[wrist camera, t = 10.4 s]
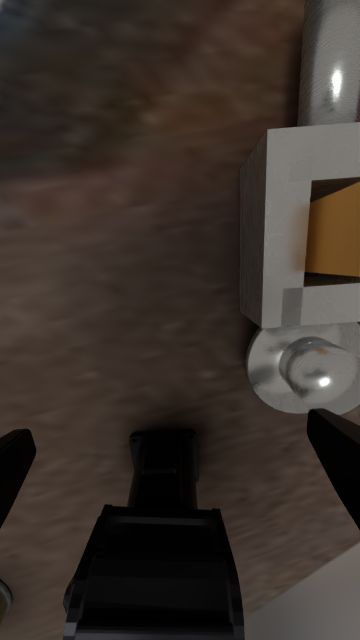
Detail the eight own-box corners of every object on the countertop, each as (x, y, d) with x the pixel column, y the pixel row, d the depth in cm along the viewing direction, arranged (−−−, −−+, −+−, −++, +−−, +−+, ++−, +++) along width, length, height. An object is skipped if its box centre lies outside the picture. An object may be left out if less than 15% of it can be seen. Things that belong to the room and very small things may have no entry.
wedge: (308, 267, 17) (411, 272, 10) (278, 269, 17) (358, 276, 10) (312, 213, 16) (433, 171, 9) (281, 215, 16) (373, 175, 9)
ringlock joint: (333, 389, 20) (394, 439, 15) (238, 395, 20) (262, 448, 15) (380, 32, 14) (531, -137, 8) (238, 43, 14) (283, -116, 8)
